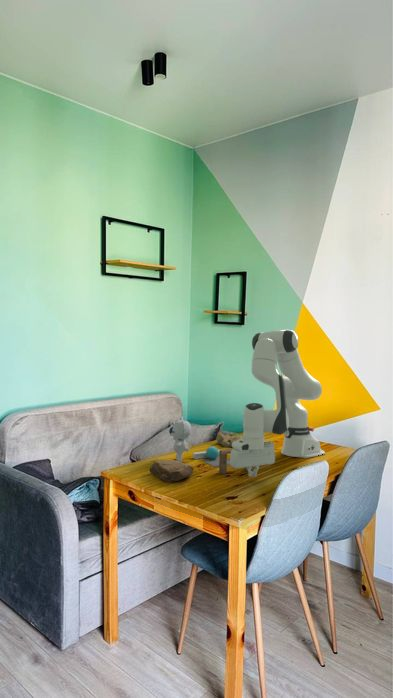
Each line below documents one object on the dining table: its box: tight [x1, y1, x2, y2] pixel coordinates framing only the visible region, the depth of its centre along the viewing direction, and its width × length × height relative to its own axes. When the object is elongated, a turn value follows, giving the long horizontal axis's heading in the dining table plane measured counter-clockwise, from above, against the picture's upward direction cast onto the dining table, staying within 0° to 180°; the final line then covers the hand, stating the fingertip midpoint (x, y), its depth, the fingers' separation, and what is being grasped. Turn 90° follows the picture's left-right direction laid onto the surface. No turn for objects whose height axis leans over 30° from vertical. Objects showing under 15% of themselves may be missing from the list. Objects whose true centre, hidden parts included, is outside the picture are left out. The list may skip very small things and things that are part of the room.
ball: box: [206, 446, 219, 459], centre depth 226 cm, size 6×6×6 cm
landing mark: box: [201, 457, 231, 468], centre depth 221 cm, size 12×12×1 cm
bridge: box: [218, 448, 253, 475], centre depth 207 cm, size 3×15×10 cm, turn 116°
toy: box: [169, 416, 192, 462], centre depth 222 cm, size 17×10×20 cm, turn 5°
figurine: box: [216, 431, 243, 448], centre depth 254 cm, size 12×8×20 cm
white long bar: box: [192, 449, 221, 460], centre depth 230 cm, size 16×2×2 cm, turn 116°
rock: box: [149, 459, 194, 483], centre depth 197 cm, size 20×7×15 cm
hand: (252, 476), depth 195 cm, fingers closed
